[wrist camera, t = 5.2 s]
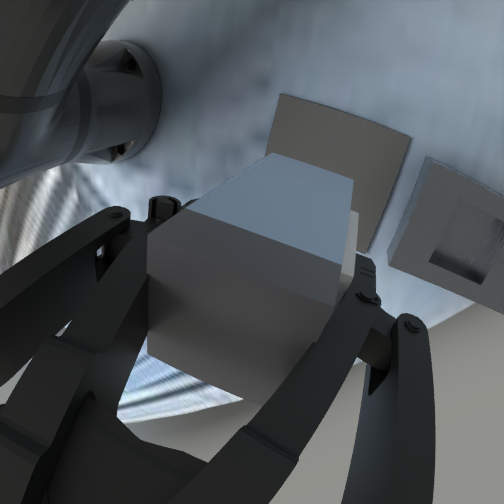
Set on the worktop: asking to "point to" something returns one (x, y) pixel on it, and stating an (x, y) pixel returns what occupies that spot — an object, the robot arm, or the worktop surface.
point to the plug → (248, 275)
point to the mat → (342, 153)
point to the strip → (453, 235)
